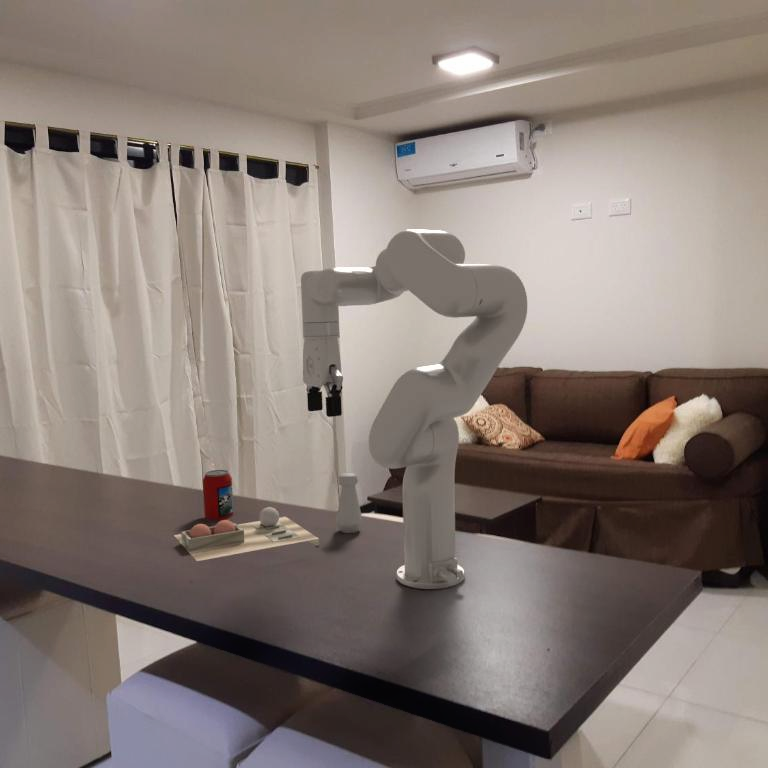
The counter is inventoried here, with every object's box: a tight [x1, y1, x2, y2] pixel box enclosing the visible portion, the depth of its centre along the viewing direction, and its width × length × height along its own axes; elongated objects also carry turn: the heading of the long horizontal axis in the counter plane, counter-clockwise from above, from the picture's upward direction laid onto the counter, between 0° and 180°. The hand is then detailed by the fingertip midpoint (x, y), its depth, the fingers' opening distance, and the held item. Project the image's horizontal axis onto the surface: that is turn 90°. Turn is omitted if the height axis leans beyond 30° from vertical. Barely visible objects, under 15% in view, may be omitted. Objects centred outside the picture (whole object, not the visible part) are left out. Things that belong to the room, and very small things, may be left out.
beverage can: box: [202, 469, 235, 521], centre depth 183 cm, size 7×7×12 cm
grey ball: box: [259, 506, 280, 527], centre depth 173 cm, size 4×4×4 cm
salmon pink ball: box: [214, 519, 235, 534], centre depth 164 cm, size 4×4×4 cm
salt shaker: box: [335, 472, 363, 534], centre depth 173 cm, size 6×6×13 cm
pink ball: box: [190, 523, 211, 538], centre depth 161 cm, size 4×4×4 cm
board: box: [173, 516, 320, 562], centre depth 166 cm, size 20×26×4 cm
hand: (324, 413), depth 160 cm, fingers open, 9 cm apart
